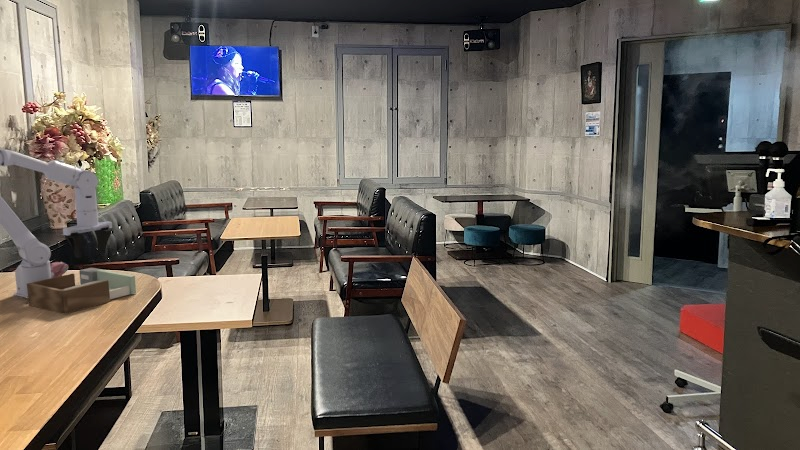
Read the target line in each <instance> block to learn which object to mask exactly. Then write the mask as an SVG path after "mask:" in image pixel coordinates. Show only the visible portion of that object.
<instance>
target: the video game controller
mask: <svg viewBox="0 0 800 450" xmlns="http://www.w3.org/2000/svg"><path fill="white" fill-rule="evenodd" d="M50 269H51V278H55V277H59V276H64V274H66V273H67V272H68V270H69V264H67V263H66V262H63V261H60V262H59V261H55V262H52V263H51V262H50Z"/></svg>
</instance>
